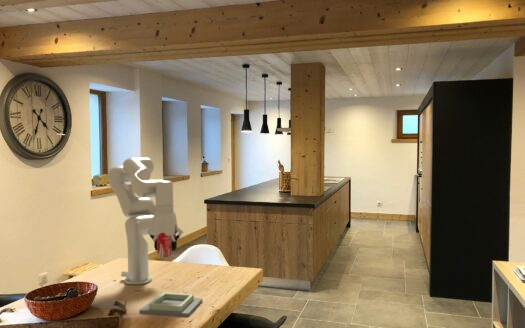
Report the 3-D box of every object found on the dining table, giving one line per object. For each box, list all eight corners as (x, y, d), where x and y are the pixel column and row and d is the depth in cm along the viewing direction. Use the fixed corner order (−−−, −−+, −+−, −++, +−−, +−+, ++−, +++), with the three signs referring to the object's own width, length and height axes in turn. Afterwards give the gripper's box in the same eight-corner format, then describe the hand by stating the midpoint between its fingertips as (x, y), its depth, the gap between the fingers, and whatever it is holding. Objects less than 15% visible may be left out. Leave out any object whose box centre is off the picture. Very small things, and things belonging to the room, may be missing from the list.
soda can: (158, 255, 182) (158, 228, 182) (175, 255, 183) (174, 228, 183) (156, 259, 175) (155, 231, 175) (173, 258, 176) (172, 230, 176)
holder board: (139, 313, 160) (139, 304, 160) (157, 298, 176) (157, 291, 176) (188, 316, 156) (188, 308, 156) (202, 301, 172) (202, 293, 172)
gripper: (141, 210, 177) (143, 251, 177) (180, 210, 174) (181, 252, 174) (149, 208, 184) (150, 247, 184) (186, 208, 181) (187, 248, 181)
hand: (165, 249), depth 179 cm, fingers closed on soda can, 7 cm apart
